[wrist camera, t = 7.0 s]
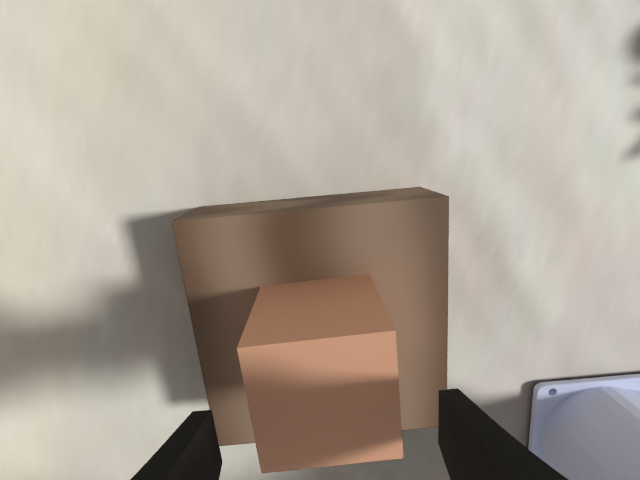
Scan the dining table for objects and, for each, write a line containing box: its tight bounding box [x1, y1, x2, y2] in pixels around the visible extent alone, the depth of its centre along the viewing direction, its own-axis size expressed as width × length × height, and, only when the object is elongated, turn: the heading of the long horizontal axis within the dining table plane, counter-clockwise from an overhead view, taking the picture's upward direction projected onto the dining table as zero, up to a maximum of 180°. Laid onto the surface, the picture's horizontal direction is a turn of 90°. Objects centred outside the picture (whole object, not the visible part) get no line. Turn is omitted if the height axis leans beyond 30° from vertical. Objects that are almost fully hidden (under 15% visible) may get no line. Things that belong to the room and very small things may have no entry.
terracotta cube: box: [237, 274, 403, 473], centre depth 14 cm, size 5×5×5 cm
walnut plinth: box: [171, 187, 449, 446], centre depth 18 cm, size 12×12×4 cm
